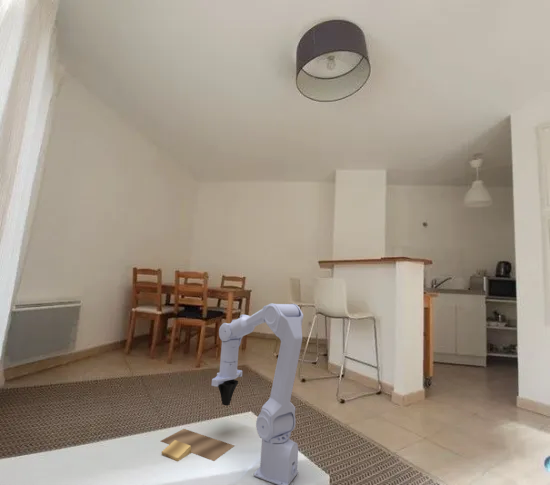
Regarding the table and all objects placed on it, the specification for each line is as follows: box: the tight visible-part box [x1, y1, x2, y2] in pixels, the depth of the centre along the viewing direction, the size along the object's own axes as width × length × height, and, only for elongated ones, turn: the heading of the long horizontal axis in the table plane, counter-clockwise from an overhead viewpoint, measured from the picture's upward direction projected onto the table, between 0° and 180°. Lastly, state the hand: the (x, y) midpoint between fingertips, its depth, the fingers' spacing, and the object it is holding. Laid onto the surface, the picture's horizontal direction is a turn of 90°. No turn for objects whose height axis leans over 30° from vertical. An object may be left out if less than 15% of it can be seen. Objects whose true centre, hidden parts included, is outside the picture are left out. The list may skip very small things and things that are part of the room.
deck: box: [160, 428, 236, 462], centre depth 92 cm, size 20×10×2 cm, turn 63°
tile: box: [161, 440, 192, 462], centre depth 86 cm, size 6×5×2 cm
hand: (225, 404), depth 100 cm, fingers closed
